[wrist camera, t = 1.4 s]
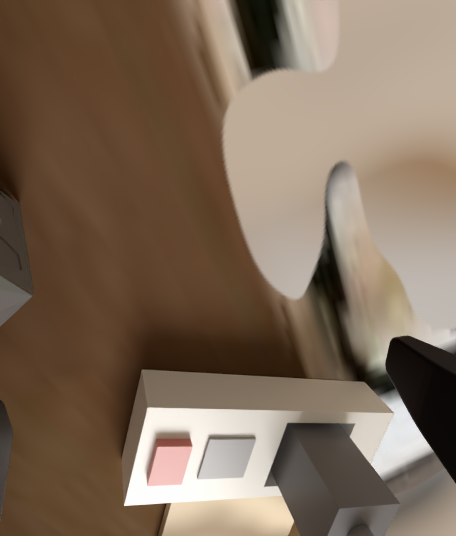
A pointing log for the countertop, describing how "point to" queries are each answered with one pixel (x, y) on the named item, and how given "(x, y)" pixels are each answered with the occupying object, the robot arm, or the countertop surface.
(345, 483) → the block
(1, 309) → the electrical switch
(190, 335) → the countertop surface
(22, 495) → the countertop surface
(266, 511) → the beige pad
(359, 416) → the power strip
